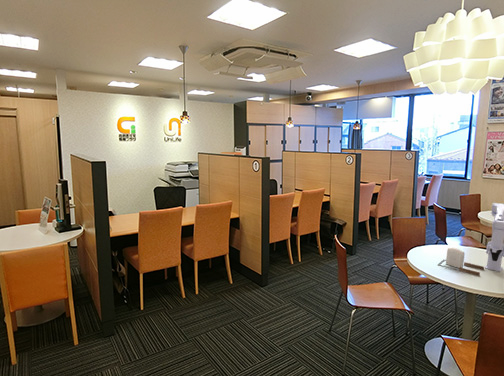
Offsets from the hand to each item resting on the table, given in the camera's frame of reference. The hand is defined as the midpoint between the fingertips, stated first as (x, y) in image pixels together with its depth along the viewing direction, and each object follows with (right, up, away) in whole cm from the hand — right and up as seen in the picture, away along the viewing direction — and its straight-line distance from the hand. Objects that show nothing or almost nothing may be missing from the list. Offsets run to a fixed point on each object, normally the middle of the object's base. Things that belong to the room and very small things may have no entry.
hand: (494, 260), depth 191 cm
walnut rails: (-6, -9, +11) cm, 16 cm away
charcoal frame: (-15, -8, +20) cm, 26 cm away
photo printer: (-13, -8, +18) cm, 24 cm away
